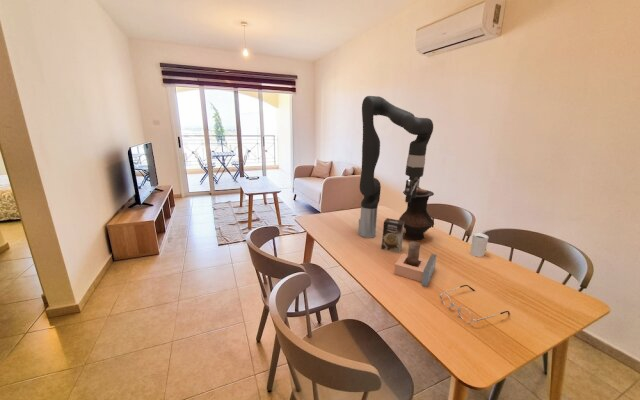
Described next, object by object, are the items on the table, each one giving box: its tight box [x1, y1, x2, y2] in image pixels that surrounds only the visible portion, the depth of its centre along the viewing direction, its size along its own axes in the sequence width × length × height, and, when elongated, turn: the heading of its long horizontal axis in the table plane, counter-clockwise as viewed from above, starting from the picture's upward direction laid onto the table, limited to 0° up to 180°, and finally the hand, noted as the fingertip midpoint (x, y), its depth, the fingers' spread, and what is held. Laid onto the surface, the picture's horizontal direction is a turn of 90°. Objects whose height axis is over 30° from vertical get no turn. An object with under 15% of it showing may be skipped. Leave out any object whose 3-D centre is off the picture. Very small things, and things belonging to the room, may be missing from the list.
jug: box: [398, 186, 435, 241], centre depth 146 cm, size 21×18×30 cm
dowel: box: [407, 240, 421, 267], centre depth 110 cm, size 4×4×12 cm
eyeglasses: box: [439, 284, 510, 324], centre depth 91 cm, size 16×19×5 cm
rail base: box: [421, 253, 437, 288], centre depth 112 cm, size 24×16×8 cm, turn 57°
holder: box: [393, 253, 429, 283], centre depth 111 cm, size 11×11×4 cm
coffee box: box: [381, 217, 405, 253], centre depth 131 cm, size 9×6×16 cm
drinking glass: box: [470, 232, 489, 258], centre depth 128 cm, size 7×7×10 cm
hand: (410, 200), depth 120 cm, fingers open, 8 cm apart
